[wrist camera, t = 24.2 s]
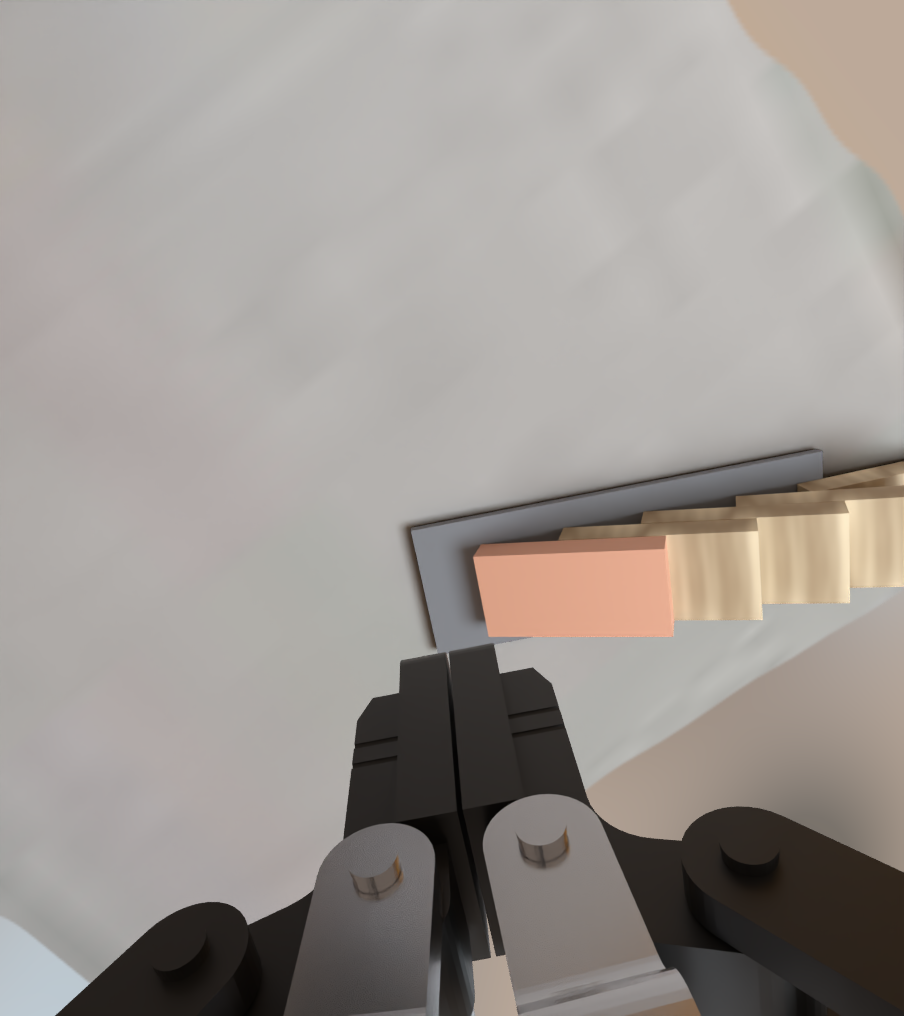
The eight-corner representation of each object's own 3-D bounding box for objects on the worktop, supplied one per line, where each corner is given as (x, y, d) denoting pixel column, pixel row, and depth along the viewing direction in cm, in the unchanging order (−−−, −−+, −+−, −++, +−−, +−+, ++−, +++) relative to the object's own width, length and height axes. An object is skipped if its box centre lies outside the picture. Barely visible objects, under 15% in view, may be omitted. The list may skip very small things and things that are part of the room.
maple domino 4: (742, 590, 42) (952, 585, 38) (735, 507, 40) (955, 493, 36) (741, 576, 43) (944, 571, 39) (735, 496, 41) (947, 482, 38)
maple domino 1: (570, 620, 42) (762, 619, 39) (558, 539, 40) (758, 531, 37) (574, 606, 44) (760, 604, 40) (563, 527, 42) (756, 518, 38)
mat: (438, 650, 45) (438, 655, 44) (410, 527, 42) (410, 531, 41) (820, 577, 44) (825, 581, 44) (817, 448, 42) (822, 451, 41)
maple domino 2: (649, 604, 42) (849, 602, 38) (640, 523, 40) (849, 513, 37) (652, 591, 43) (845, 588, 40) (643, 511, 42) (844, 501, 38)
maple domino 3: (815, 576, 42) (985, 538, 42) (813, 492, 40) (990, 454, 40) (799, 565, 43) (964, 528, 44) (797, 484, 42) (968, 447, 42)
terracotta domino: (488, 636, 42) (673, 636, 39) (473, 556, 41) (664, 549, 37) (495, 622, 44) (674, 620, 40) (480, 544, 42) (666, 535, 38)
